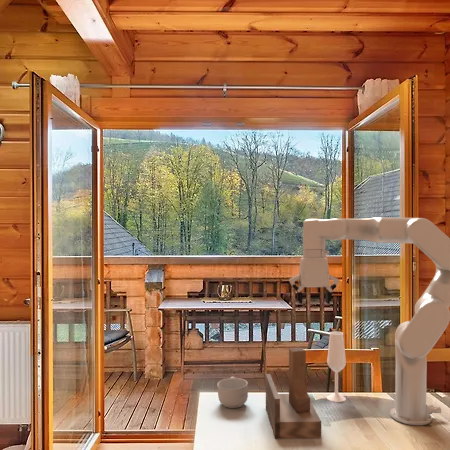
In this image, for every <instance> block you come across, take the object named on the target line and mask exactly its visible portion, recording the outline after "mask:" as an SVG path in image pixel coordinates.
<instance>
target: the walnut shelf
mask: <svg viewBox="0 0 450 450" xmlns="http://www.w3.org/2000/svg"><path fill="white" fill-rule="evenodd" d="M272 377H273V376H272V375H271V373H266V374H265V410H266V414H267V417H268V421H269V425H270V426H271V430H272V433H273V438H274V439H275V440H277V439H278V440H281V439H282V440H283V439H286V440H287V439H288V440H289V439H322V420H321V418H320V416H319V414H318V413H317V411H316V409H315V407H314V406H313V404H312V402H311V401H310V412H296V410H295V409H294V408H293V406H292V405H291V403H290V402H289V393H279V392H278V391H277V388H276V385H275V383H274V380H273V378H272Z"/></svg>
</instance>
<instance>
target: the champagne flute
mask: <svg viewBox="0 0 450 450" xmlns="http://www.w3.org/2000/svg"><path fill="white" fill-rule="evenodd" d="M344 338H345V337H344V332H343V331H342V332H341V331H330V332H329V339H328V340H329V341H328V347H327V348H328V349H327V350H328V351H327V359H326V364H327V366H328V367H329V369H330V370H331V371H333V372H334V392H333V393H331V394H330V395H327V397H326V398H327V400H329V401H330V402H336V403H341V402H345V401H346V400H347V399H346V397H345V396H343V395H341V394H340V393H339V372H341V371H343V369H344V368H346V365H347V359H346V350H345V349H346V348H345V339H344Z"/></svg>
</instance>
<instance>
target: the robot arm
mask: <svg viewBox="0 0 450 450" xmlns="http://www.w3.org/2000/svg"><path fill="white" fill-rule="evenodd" d="M302 223H303V227H302V228H303V230H302V231H303V232H302V233H303V235H302V236H303V238H302V239H303V241H302V243H303V246H302V247H303V248H302V250H303V252H302V253H303V254H302V255H303V256H302V257H300V261H299V267H298V269H299V270H298V274H297V275H295V276H292V277H290V278H289V279H288V281H289V284H290V285H291V287H292V288H293V289H294V290H295V291H296V301H297V302H298V304H299V305H302V304H303V292H302V291H303V290H304V289H305V288H325V289H326V291H325V303H326V304H328V305H329V304H330V303H331V302H332V292H333V291H334V289H336V288H337V286H338V284H339V281H340V280H339V278H337V277H335V276H334V275H331V274H330V271H329V270H330V269H329V263H328V262H329V260H328V258H327V256H328V255H330V250H326V240H329V241H342V240H357V241H358V240H359V241H368V242H372V243H380V244H414V245H415V246H416V247H417V248H418V249H419V250H420V251H421V252H422V253H424V255H426V256H427V257H428V258H429V259H430V260H431V261H432V263H434V265H435V273H434V276H433V278H432V280H431V281H430V283H429V285H428V286H427V287H426V289H425V290H424V292H423V293H422V295H421V296H420V297H419V298H418V300H417V301H416V303H415V305H414V315H413V316H412V318H411V319H410V320H407V321H404V322H403V321H402V322H401V323H400V324H398V326H397V327H396V330H395V332H394V347H395V349H394V351H395V377H394V378H395V380H394V382H395V383H394V384H395V386H394V387H395V396H394V397H395V399H394V400H395V401H394V402H395V403H394V407H393V408H391V409H390V412H389V414H390V417H391V418H392V419H393V420H395V421H397V422H399V423H402V424H405V425H411V426H425V425H429V424H431V422H432V414H442V409H441V406H434V405H433V404H428V403H427V370H428V369H427V365H428V362H427V360H428V359H427V355H428V354H429V353H430V352H431V351H432V349H433V348H434V347H435V345H436V343H437V342H438V341H439V340H440V338H441V337H442V335H443V334H444V332H445V331H446V329H447V328H448V326H449V324H450V309H449V308H450V237H449V236H448V235H447V234H446V233H444V232H443V231H442V229H440V228H439V227H438V226H437V225H436V224H434V223H433V222H432V221H431V220H430V219H428V218H425V217H424V218H423V217H383V216H380V217H379V216H377V217H370V218H339V217H338V218H337V217H336V218H334V217H333V218H330V219H329V218H327V219H322V218H307V219H305V220H304V221H303V222H302ZM330 280H331V281H333V282H332V284H331V285H330ZM296 281H298V286H297V285H296V283H295V282H296Z"/></svg>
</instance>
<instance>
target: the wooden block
mask: <svg viewBox="0 0 450 450" xmlns="http://www.w3.org/2000/svg"><path fill="white" fill-rule="evenodd" d="M306 354H307V353H306V350H305V349H304V348H302V347H290V348H288V394H289V402H290V403H291V405H292V406H293V408H294V409H295V410H296V412H310V402H311V397H310V395H309V393H308V390H307V382H306V379H307V378H306V375H307V374H306V370H307V369H306V367H307V364H306V363H307V361H306V360H307V359H306V357H307V355H306Z"/></svg>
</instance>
